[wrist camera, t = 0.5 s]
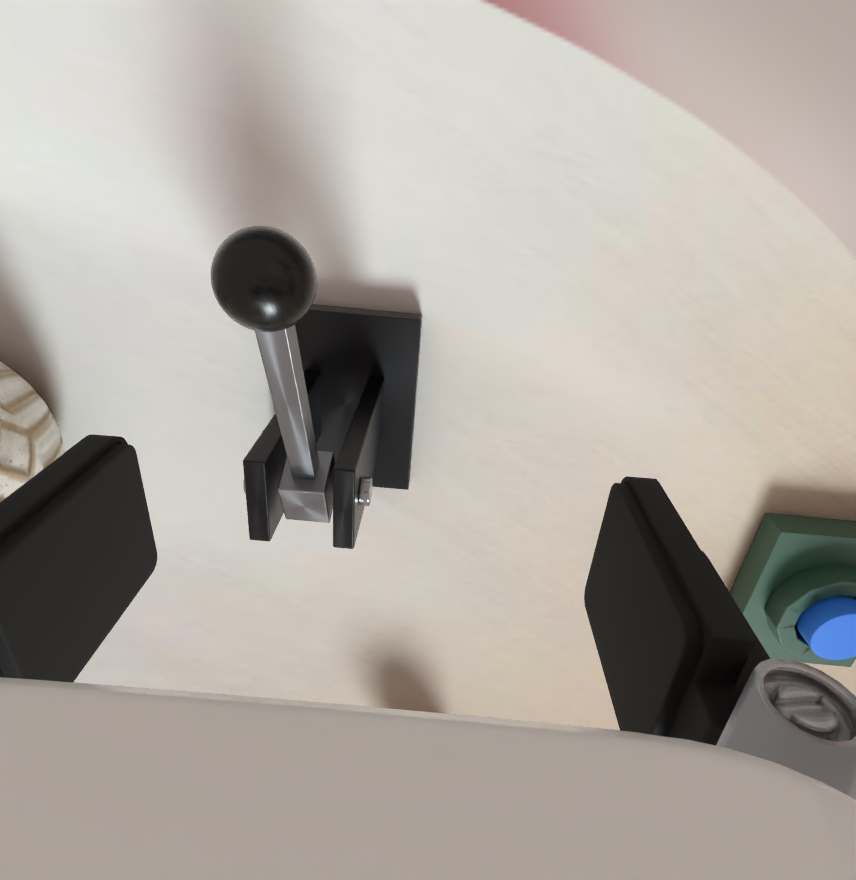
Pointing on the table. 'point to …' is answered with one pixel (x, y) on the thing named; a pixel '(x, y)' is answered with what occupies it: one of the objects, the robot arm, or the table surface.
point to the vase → (24, 432)
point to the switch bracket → (346, 414)
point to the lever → (279, 351)
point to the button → (830, 627)
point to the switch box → (794, 579)
